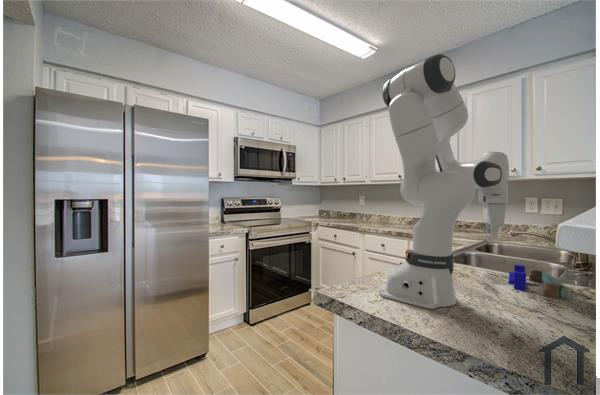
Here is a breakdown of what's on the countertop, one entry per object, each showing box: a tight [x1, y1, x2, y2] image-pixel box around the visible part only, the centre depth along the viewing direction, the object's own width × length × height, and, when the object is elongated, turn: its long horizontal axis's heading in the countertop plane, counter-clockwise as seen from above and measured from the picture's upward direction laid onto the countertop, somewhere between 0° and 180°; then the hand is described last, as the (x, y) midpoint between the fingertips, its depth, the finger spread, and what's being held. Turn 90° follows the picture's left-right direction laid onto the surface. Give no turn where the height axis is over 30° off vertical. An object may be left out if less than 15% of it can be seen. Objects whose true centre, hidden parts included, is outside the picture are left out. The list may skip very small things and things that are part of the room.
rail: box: [528, 268, 566, 300], centre depth 97 cm, size 5×18×4 cm, turn 154°
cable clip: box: [508, 264, 527, 292], centre depth 100 cm, size 12×4×6 cm, turn 143°
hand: (491, 235), depth 104 cm, fingers open, 8 cm apart
